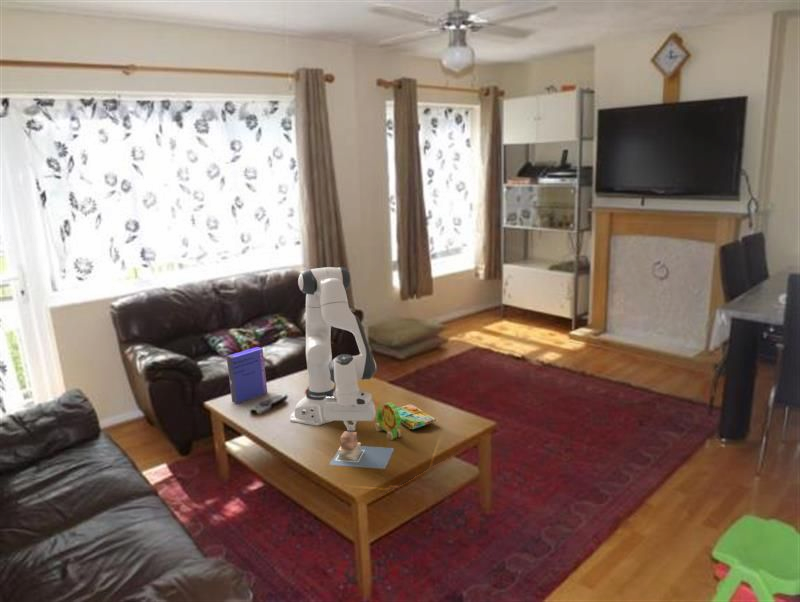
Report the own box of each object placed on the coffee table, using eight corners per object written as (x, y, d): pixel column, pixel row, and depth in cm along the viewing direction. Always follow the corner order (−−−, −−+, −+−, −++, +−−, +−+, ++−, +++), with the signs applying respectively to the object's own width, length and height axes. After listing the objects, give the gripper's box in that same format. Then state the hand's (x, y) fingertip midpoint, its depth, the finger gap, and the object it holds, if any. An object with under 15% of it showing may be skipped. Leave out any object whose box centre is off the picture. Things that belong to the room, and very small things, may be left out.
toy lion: (374, 430, 246) (372, 397, 243) (384, 426, 249) (383, 394, 245) (393, 444, 233) (392, 410, 229) (404, 440, 236) (403, 406, 232)
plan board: (329, 466, 218) (329, 464, 218) (342, 446, 233) (341, 444, 233) (385, 470, 213) (384, 468, 213) (394, 449, 229) (394, 447, 228)
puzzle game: (410, 402, 262) (435, 417, 246) (410, 411, 264) (436, 427, 247) (388, 408, 257) (413, 424, 240) (389, 418, 258) (413, 434, 241)
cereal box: (262, 390, 296) (257, 346, 290) (267, 392, 293) (262, 348, 287) (231, 401, 284) (226, 355, 278) (237, 403, 281) (231, 357, 275)
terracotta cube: (341, 448, 221) (340, 437, 220) (345, 442, 226) (344, 431, 225) (353, 449, 220) (352, 438, 219) (357, 443, 225) (356, 432, 224)
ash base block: (338, 459, 222) (338, 449, 221) (344, 450, 228) (343, 441, 227) (356, 460, 220) (355, 451, 219) (361, 451, 227) (360, 442, 226)
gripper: (319, 400, 218) (323, 433, 221) (371, 400, 214) (374, 434, 217) (324, 393, 224) (328, 425, 227) (375, 393, 220) (378, 426, 223)
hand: (351, 429), depth 222 cm, fingers closed
